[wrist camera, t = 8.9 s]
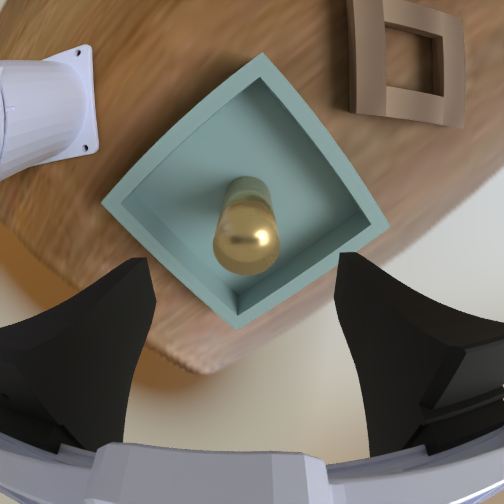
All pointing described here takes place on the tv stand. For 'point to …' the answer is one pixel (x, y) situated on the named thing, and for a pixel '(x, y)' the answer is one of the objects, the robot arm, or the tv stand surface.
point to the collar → (374, 62)
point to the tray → (239, 165)
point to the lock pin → (246, 228)
